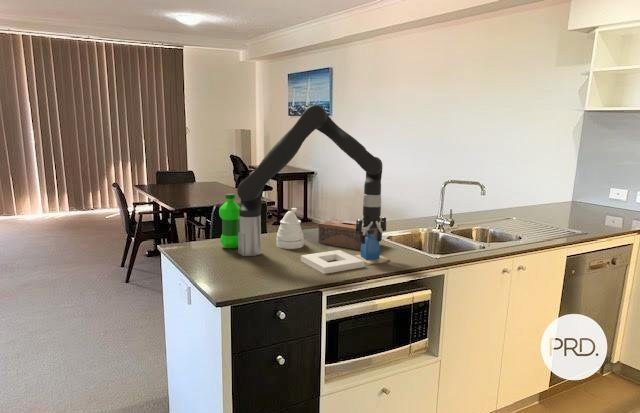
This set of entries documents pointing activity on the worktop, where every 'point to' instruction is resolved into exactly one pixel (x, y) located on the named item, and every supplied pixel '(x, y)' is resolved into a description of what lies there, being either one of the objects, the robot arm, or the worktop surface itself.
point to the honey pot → (290, 232)
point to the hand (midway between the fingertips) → (370, 242)
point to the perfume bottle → (370, 247)
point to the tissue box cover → (341, 233)
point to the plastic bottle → (230, 222)
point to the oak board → (369, 262)
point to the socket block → (341, 264)
